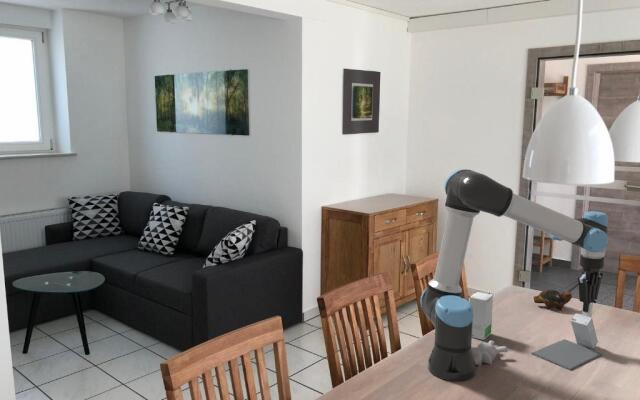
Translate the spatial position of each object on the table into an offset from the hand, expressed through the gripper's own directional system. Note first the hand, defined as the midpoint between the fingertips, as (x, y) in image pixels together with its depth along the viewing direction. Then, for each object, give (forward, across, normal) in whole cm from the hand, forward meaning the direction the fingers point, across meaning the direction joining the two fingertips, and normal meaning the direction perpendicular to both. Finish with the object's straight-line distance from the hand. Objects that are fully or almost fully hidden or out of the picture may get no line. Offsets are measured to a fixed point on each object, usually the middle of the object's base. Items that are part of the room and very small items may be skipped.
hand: (586, 319), depth 190 cm
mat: (+10, -11, 0) cm, 15 cm away
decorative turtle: (+10, +26, +29) cm, 40 cm away
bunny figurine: (+11, -37, +14) cm, 41 cm away
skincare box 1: (+11, -23, +28) cm, 38 cm away
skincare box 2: (+10, +2, 0) cm, 10 cm away
